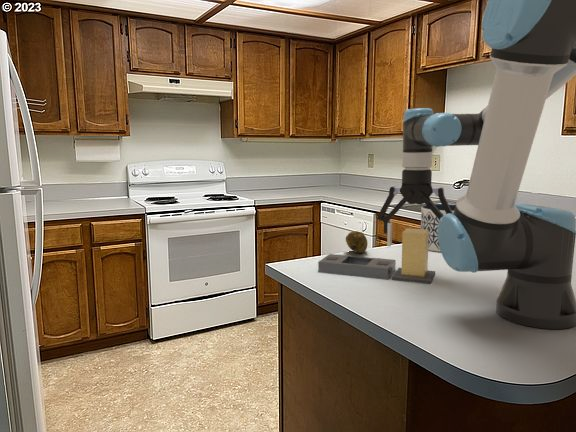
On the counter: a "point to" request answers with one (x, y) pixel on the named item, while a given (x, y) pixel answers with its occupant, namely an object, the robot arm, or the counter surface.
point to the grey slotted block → (357, 266)
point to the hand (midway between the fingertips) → (414, 247)
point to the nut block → (415, 252)
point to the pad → (425, 280)
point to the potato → (357, 241)
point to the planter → (432, 225)
